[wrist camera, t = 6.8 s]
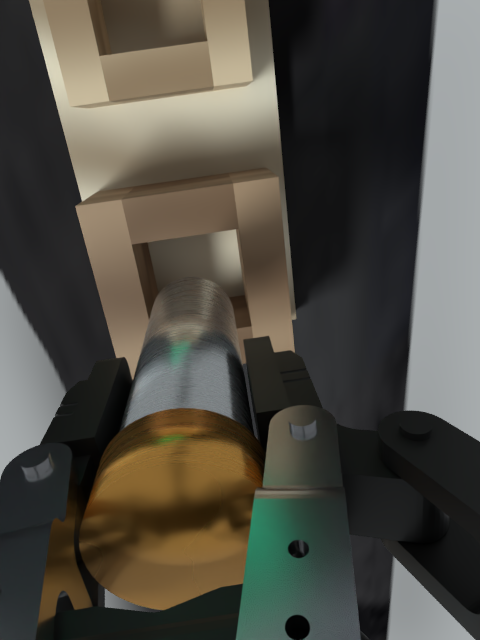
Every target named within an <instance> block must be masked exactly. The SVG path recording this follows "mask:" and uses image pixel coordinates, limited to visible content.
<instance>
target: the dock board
mask: <svg viewBox="0 0 480 640" xmlns="http://www.w3.org/2000/svg"><path fill="white" fill-rule="evenodd" d="M29 2H30V5H31V9H32V13H33V17H34V21H35V24H36V28H37V32H38V36H39V40H40V43H41V47H42V51H43V55H44V58H45V62H46V66H47V70H48V74H49V77H50V81H51V85H52V89H53V92H54V96H55V100H56V104H57V108H58V111H59V115H60V119H61V123H62V127H63V130H64V134H65V138H66V142H67V145H68V149H69V153H70V157H71V161H72V164H73V168H74V172H75V176H76V179H77V183H78V187H79V191H80V195H81V198H82V202H81V203H79V204H78V205H76V206H75V207H76V210H77V214H78V218H79V222H80V225H81V229H82V233H83V236H84V240H85V244H86V247H87V251H88V255H89V258H90V262H91V266H92V269H93V273H94V277H95V280H96V284H97V288H98V291H99V295H100V299H101V303H102V306H103V310H104V314H105V317H106V321H107V325H108V328H109V332H110V336H111V339H112V343H113V347H114V350H115V354H116V358H121V357H125V358H126V360H127V362H128V365H129V369H130V373H131V376H132V380H133V378H134V375H135V371H136V367H137V364H138V360H139V356H140V352H141V349H142V345H143V341H144V338H145V334H146V330H147V327H148V323H149V319H150V315H151V312H152V308H153V304H154V301H155V299H156V297H157V296H158V294H159V293H160V291H161V290H162V289H163V288H164V287H165V286H167V285H168V284H170V283H171V282H173V281H175V280H178V279H181V278H186V277H199V278H204V279H207V280H210V281H212V282H214V283H215V284H217V285H218V286H220V287H221V288H222V289H223V290H224V291H225V292H226V294H227V295H228V296H229V298H230V300H231V303H232V306H233V310H234V316H235V322H236V328H237V335H238V341H239V347H240V353H241V359H242V364H243V363H246V357H245V350H244V343H243V339H250V338H257V337H263V336H269V337H270V341H271V344H272V347H273V351H274V352H281V351H288V350H291V351H293V352H294V353H295V351H294V340H293V329H292V320H293V319H296V310H295V299H294V288H293V276H292V265H291V253H290V242H289V230H288V219H287V207H286V196H285V184H284V173H283V161H282V150H281V139H280V127H279V116H278V104H277V93H276V81H275V70H274V58H273V47H272V35H271V24H270V12H269V1H268V0H29Z"/></svg>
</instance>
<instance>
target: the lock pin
mask: <svg viewBox="0 0 480 640" xmlns="http://www.w3.org/2000/svg"><path fill="white" fill-rule="evenodd" d="M265 460H266V453H265V450H264V448H263V447H262V445H261V443H260V442H259V441H258V439H257V438H256V437H255V436H254V431H253V425H252V419H251V413H250V407H249V401H248V395H247V389H246V383H245V377H244V371H243V365H242V359H241V353H240V347H239V341H238V335H237V328H236V322H235V316H234V310H233V306H232V303H231V300H230V298H229V296H228V295H227V294H226V292H225V291H224V290H223V289H222V288H221V287H220V286H218V285H217V284H215V283H214V282H212V281H210V280H207V279H204V278H199V277H186V278H181V279H178V280H175V281H173V282H171V283H170V284H168V285H167V286H165V287H164V288H163V289H162V290H161V291H160V293H159V294H158V296H157V297H156V299H155V301H154V304H153V308H152V312H151V315H150V319H149V323H148V327H147V330H146V334H145V338H144V341H143V345H142V349H141V352H140V356H139V360H138V364H137V367H136V371H135V375H134V378H133V382H132V386H131V390H130V393H129V397H128V401H127V404H126V408H125V412H124V416H123V419H122V423H121V427H120V430H119V433H118V434H117V435H116V436H115V437H114V438H113V439H112V440H111V441H110V443H109V444H108V446H107V447H106V449H105V451H104V453H103V455H102V457H101V460H100V464H99V467H98V470H97V474H96V477H95V480H94V483H93V487H92V490H91V493H90V497H89V500H88V503H87V507H86V510H85V513H84V517H83V520H82V523H81V527H80V533H79V546H80V552H81V556H82V559H83V561H84V563H85V565H86V567H87V569H88V570H89V572H90V573H91V575H92V576H93V577H94V578H95V579H96V580H97V581H98V583H99V584H101V585H102V586H103V587H104V588H105V589H107V590H108V591H110V592H111V593H113V594H114V595H116V596H118V597H120V598H122V599H124V600H126V601H128V602H131V603H134V604H137V605H140V606H144V607H148V608H153V609H160V610H166V609H168V608H171V607H173V606H176V605H178V604H181V603H183V602H185V601H188V600H190V599H193V598H195V597H198V596H200V595H202V594H205V593H207V592H210V591H212V590H215V589H217V588H220V587H225V586H231V585H237V584H243V580H244V573H245V565H246V557H247V549H248V541H249V534H250V526H251V518H252V510H253V503H254V495H255V491H256V488H257V487H263V478H264V469H265Z"/></svg>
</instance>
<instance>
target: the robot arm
mask: <svg viewBox="0 0 480 640" xmlns="http://www.w3.org/2000/svg"><path fill="white" fill-rule="evenodd" d="M243 343H244V350H245V357H246V364H247V371H248V378H249V385H250V392H251V399H252V405H253V412H254V418H255V423H256V429H257V435H258V441H259V442H260V443H261V445H262V447H263V448H264V450H265V453H266V460H265V469H264V478H263V487H257V488H256V491H255V495H254V503H253V510H252V518H251V526H250V534H249V541H248V549H247V557H246V565H245V573H244V580H243V584H237V585H231V586H225V587H220V588H217V589H215V590H212V591H210V592H207V593H205V594H202V595H200V596H198V597H195V598H193V599H190V600H188V601H185V602H183V603H181V604H178V605H176V606H173V607H171V608H168V609H166V610H163V611H160V612H155V613H153V612H151V613H150V612H142V611H132V610H124V609H115V608H105V595H104V594H105V588H104V587H103V586H102V585H101V584H99V583H98V581H97V580H96V579H95V578H94V577H93V576H92V575H91V573H90V572H89V570H88V569H87V567H86V565H85V563H84V561H83V559H82V556H81V552H80V546H79V533H80V527H81V523H82V520H83V517H84V513H85V510H86V507H87V503H88V500H89V497H90V493H91V490H92V487H93V483H94V480H95V477H96V474H97V470H98V467H99V464H100V460H101V457H102V455H103V453H104V451H105V449H106V447H107V446H108V444H109V443H110V441H111V440H112V439H113V438H114V437H115V436H116V435H117V434H118V433H119V430H120V427H121V423H122V419H123V416H124V412H125V408H126V404H127V401H128V397H129V393H130V390H131V386H132V382H133V380H132V376H131V373H130V369H129V365H128V362H127V360H126V358H125V357H121V358H114V359H107V360H101V361H97V362H96V363H95V365H94V367H93V370H92V372H91V374H90V376H89V378H88V380H85V381H79V382H78V383H77V384H76V385H75V386H74V387H72V388H71V389H70V390H69V391H68V392H67V393H66V395H65V397H64V398H63V400H62V402H61V405H60V407H59V408H58V410H57V412H56V414H55V417H54V418H53V420H52V422H51V424H50V426H49V428H48V430H47V432H46V434H45V435H44V437H43V439H42V441H41V443H40V445H38V446H35V447H33V448H30V449H28V450H26V451H24V452H23V453H21V454H19V455H18V456H17V457H15V458H14V459H13V460H12V461H11V462H10V463H9V464H8V465H7V466H6V467H5V469H4V471H3V473H2V475H1V479H0V640H370V639H369V638H368V637H367V636H365V635H364V634H363V633H362V632H361V631H360V627H359V618H358V608H357V599H356V590H355V580H354V571H353V562H352V552H351V543H350V534H351V535H358V536H366V537H373V538H380V539H381V541H382V543H383V544H384V546H385V547H386V548H387V550H388V551H389V552H390V553H391V554H392V555H393V556H394V557H395V558H396V559H397V560H398V561H399V562H400V563H401V564H402V565H403V566H404V567H405V568H406V569H407V570H408V571H409V572H410V573H411V574H412V575H413V576H414V577H415V578H416V579H417V580H418V581H419V582H420V583H421V584H422V585H423V586H424V587H425V589H426V590H427V591H429V593H430V594H431V595H432V596H433V597H434V598H435V599H436V600H437V601H438V602H439V603H440V604H441V605H442V606H443V607H444V608H445V609H446V610H447V611H448V612H449V613H450V614H451V615H452V616H453V617H454V618H455V619H456V620H457V621H458V622H459V623H460V624H461V625H462V626H463V627H464V628H465V629H466V630H467V631H468V632H469V633H470V635H472V637H473V638H474V639H476V640H480V442H479V441H478V440H476V439H474V438H473V437H471V436H469V435H468V434H466V433H464V432H463V431H461V430H459V429H458V428H456V427H454V426H453V425H451V424H449V423H448V422H446V421H444V420H443V419H441V418H439V417H437V416H435V415H432V414H429V413H426V412H420V411H400V412H396V413H393V414H390V415H388V416H387V417H385V418H384V419H383V420H382V421H381V422H380V424H379V427H378V431H370V430H357V429H351V428H347V427H344V426H341V425H339V424H337V423H336V420H335V418H334V416H333V415H332V414H331V413H330V412H328V411H327V410H325V409H323V408H322V405H321V403H320V400H319V398H318V395H317V393H316V391H315V388H314V386H313V383H312V381H311V379H310V376H309V374H308V371H307V370H306V366H305V364H304V362H303V359H302V358H301V357H300V356H298V355H297V354H296V353H294V352H293V351H291V350H288V351H281V352H274V351H273V347H272V344H271V341H270V337H269V336H263V337H257V338H250V339H243Z"/></svg>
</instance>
